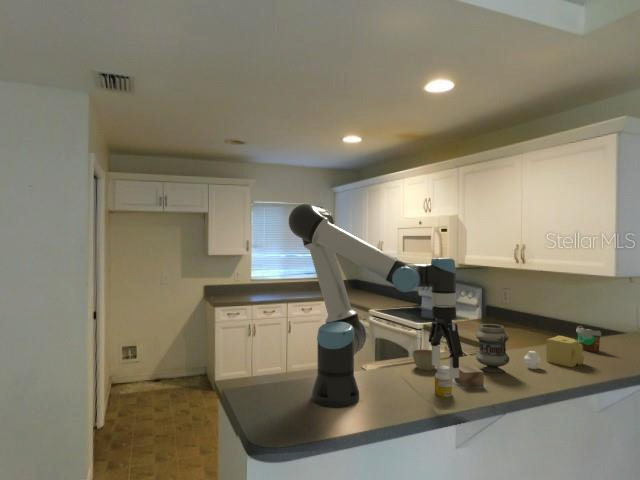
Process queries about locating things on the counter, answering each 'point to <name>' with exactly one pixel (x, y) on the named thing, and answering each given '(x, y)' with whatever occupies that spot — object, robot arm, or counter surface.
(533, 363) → the white rounded lump
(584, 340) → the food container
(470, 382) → the walnut block
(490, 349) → the apothecary jar
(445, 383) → the supplement bottle
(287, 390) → the counter surface
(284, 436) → the counter surface
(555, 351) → the cheese
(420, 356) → the flower pot
